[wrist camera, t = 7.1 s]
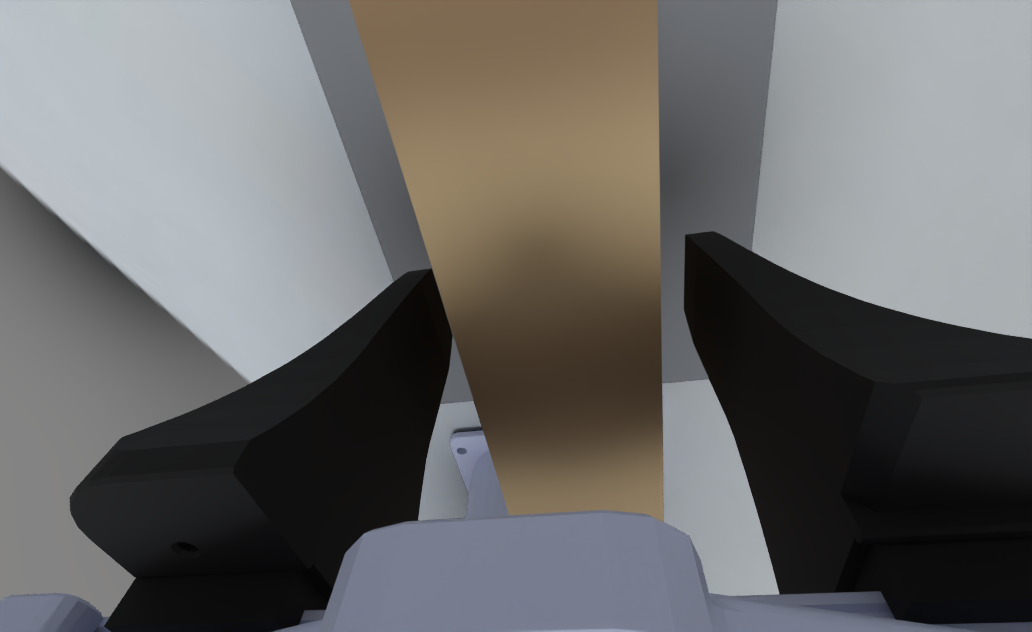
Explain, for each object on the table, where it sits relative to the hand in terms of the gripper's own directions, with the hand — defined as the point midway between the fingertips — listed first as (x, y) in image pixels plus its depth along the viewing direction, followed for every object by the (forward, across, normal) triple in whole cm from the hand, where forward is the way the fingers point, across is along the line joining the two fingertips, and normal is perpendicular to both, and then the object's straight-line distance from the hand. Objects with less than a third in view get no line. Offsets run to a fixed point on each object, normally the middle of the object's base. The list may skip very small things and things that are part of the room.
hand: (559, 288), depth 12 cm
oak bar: (+3, 0, 0) cm, 3 cm away
